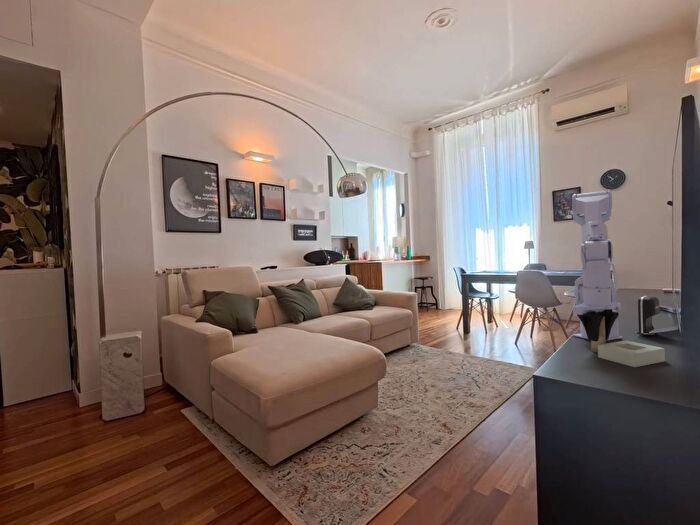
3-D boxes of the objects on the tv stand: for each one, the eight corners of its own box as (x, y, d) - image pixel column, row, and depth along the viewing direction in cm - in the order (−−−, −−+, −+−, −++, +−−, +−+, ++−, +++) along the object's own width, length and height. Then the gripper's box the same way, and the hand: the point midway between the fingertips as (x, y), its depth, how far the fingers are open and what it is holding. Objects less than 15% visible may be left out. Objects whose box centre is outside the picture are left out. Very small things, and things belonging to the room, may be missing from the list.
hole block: (626, 352, 85) (626, 340, 84) (664, 361, 77) (664, 348, 77) (598, 357, 82) (597, 345, 81) (634, 367, 74) (634, 353, 74)
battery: (655, 337, 97) (654, 298, 97) (638, 335, 100) (637, 297, 100) (661, 333, 101) (660, 295, 101) (645, 331, 104) (644, 295, 104)
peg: (596, 348, 88) (595, 314, 88) (608, 351, 85) (607, 316, 85) (588, 350, 87) (587, 315, 87) (600, 353, 84) (599, 317, 84)
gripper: (591, 290, 80) (593, 346, 80) (633, 286, 84) (634, 340, 85) (564, 288, 87) (566, 340, 87) (604, 284, 91) (606, 334, 91)
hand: (598, 339), depth 86 cm, fingers closed on peg, 3 cm apart
